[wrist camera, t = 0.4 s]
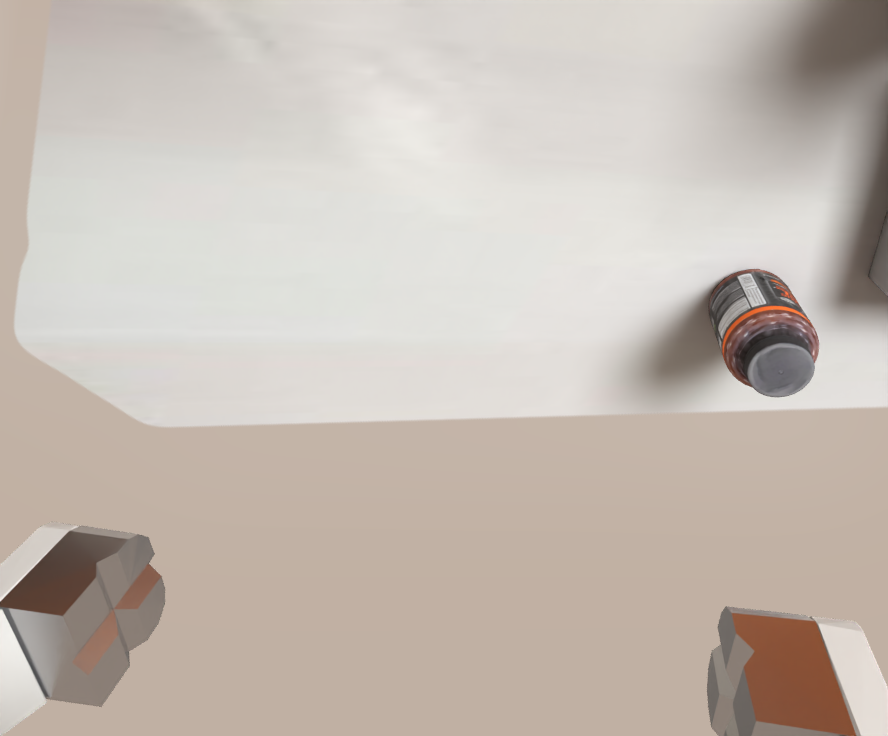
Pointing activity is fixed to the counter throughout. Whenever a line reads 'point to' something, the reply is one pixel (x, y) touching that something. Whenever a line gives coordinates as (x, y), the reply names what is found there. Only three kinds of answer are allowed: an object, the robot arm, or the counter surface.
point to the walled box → (881, 260)
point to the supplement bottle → (763, 333)
